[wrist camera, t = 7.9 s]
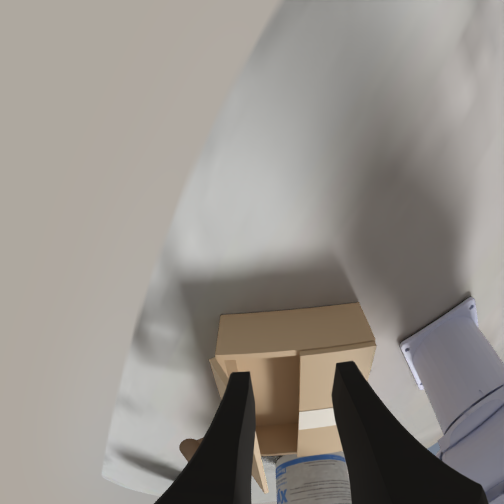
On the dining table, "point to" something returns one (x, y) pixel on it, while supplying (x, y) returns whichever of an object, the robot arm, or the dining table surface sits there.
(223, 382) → the far flap
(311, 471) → the supplement tub
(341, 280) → the dining table surface
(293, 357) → the carton
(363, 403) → the robot arm
